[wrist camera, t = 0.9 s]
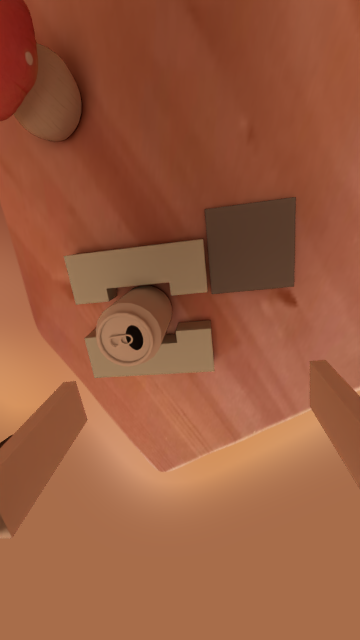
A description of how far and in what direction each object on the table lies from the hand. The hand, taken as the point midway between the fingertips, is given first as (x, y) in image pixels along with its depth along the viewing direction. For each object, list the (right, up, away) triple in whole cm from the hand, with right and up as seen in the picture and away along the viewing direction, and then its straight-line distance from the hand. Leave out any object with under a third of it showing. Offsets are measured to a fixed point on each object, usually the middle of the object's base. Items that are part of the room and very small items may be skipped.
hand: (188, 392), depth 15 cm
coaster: (+9, +13, +20) cm, 26 cm away
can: (-5, +6, +24) cm, 25 cm away
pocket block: (-5, +6, +24) cm, 25 cm away
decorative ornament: (-15, +30, +17) cm, 37 cm away
